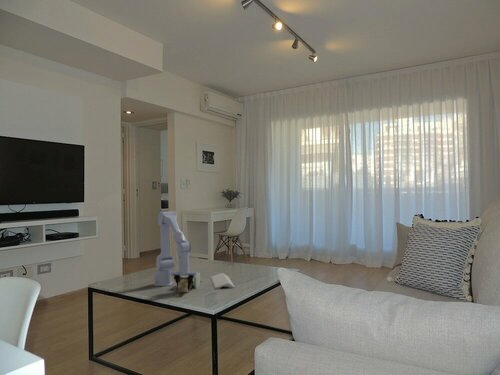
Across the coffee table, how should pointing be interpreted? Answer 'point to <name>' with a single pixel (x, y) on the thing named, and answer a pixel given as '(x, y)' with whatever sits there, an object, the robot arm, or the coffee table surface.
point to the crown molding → (221, 281)
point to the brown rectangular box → (184, 285)
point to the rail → (181, 293)
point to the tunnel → (196, 280)
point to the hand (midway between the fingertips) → (184, 288)
